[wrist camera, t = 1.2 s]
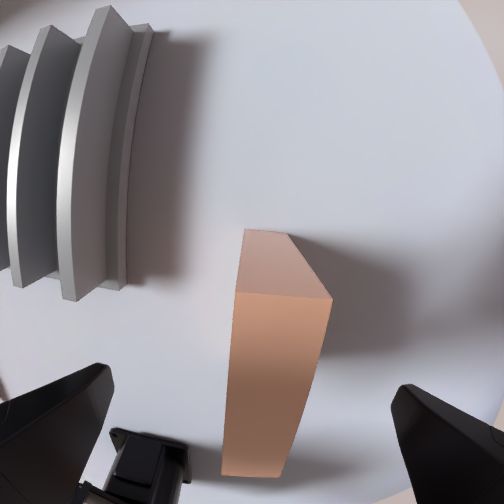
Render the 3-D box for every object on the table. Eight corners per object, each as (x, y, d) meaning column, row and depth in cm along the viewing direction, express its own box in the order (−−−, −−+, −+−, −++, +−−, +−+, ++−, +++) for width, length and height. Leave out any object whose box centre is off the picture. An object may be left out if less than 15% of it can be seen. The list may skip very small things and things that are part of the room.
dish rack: (126, 284, 14) (90, 315, 10) (-11, 257, 14) (-46, 272, 10) (154, 31, 11) (127, -6, 7) (4, 73, 10) (-30, 63, 6)
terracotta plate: (268, 357, 15) (279, 477, 7) (232, 354, 15) (221, 474, 7) (286, 233, 13) (333, 299, 6) (244, 228, 13) (235, 291, 6)
